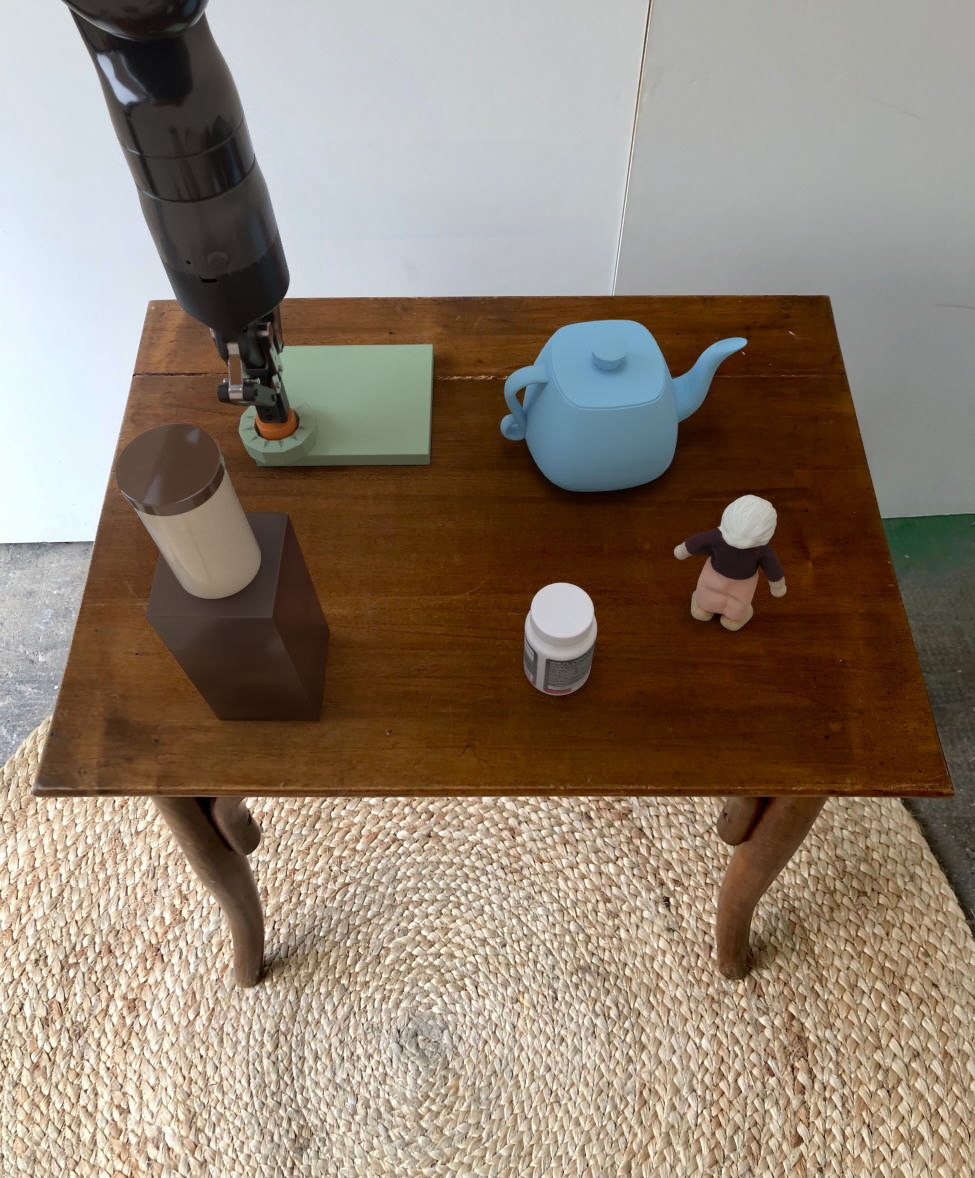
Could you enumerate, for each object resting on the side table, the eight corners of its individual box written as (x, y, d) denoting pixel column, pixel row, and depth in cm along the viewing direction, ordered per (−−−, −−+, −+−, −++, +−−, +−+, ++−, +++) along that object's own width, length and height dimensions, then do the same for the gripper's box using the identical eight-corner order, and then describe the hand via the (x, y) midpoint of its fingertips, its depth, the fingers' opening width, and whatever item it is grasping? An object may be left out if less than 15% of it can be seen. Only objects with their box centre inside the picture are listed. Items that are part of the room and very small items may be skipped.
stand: (218, 720, 62) (144, 616, 49) (234, 630, 66) (168, 511, 53) (320, 721, 62) (272, 617, 49) (330, 630, 66) (288, 511, 53)
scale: (244, 476, 73) (234, 452, 70) (263, 357, 79) (255, 331, 77) (429, 474, 73) (427, 450, 70) (434, 355, 79) (431, 329, 76)
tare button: (258, 445, 72) (253, 431, 70) (263, 416, 73) (258, 401, 72) (296, 445, 72) (291, 430, 70) (299, 416, 73) (295, 401, 72)
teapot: (771, 398, 62) (511, 422, 61) (736, 491, 71) (509, 513, 71) (727, 273, 68) (490, 293, 68) (700, 373, 78) (491, 392, 77)
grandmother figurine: (768, 594, 67) (820, 492, 56) (764, 640, 65) (817, 544, 54) (663, 575, 68) (695, 471, 57) (657, 619, 66) (688, 520, 55)
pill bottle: (602, 656, 64) (615, 598, 57) (569, 709, 62) (577, 656, 55) (544, 625, 66) (550, 564, 58) (510, 675, 64) (511, 619, 56)
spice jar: (155, 568, 51) (92, 469, 43) (221, 511, 53) (173, 406, 45) (215, 617, 49) (161, 524, 41) (281, 556, 51) (242, 456, 43)
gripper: (173, 163, 59) (239, 354, 74) (134, 305, 53) (215, 484, 68) (287, 161, 59) (330, 353, 74) (262, 304, 53) (315, 483, 68)
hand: (275, 416), depth 71 cm, fingers closed
